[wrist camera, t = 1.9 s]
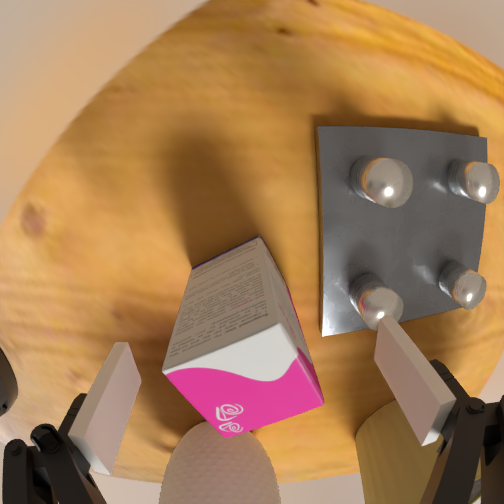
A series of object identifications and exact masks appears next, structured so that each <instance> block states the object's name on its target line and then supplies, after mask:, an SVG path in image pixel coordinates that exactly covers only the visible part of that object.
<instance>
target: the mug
mask: <svg viewBox="0 0 504 504" xmlns="http://www.w3.org/2000/svg"><path fill="white" fill-rule="evenodd" d="M159 504H281V498H280V494H279V489H278V484H277V478H276V475H275V472H274V468H273V466H272V464H271V461H270V458H269V457H268V455H267V453H266V451H265V449H264V448H263V446H262V444H261V443H260V442H259V440H258V439H257V438H256V437H255V436H254V435H253V434H252V433H251V432H250V431H248V432H245V433H242V434H238V435H235V436H231V437H227V438H224V437H223V436H222V435H221V434H220V433H219V432H218V431H217V430H216V429H215V428H214V427H213V426H212V425H211V424H210V423H209V422H208V421H206V422H202V423H200V424H198V425H196V426H194V427H193V428H191V429H190V430H189V431H188V432H187V433H186V434H185V435H184V436H183V437H182V438H181V440H180V441H179V443H178V444H177V446H176V448H175V449H174V451H173V454H172V455H171V457H170V460H169V463H168V464H167V467H166V471H165V474H164V479H163V482H162V486H161V492H160V498H159Z"/></svg>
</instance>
